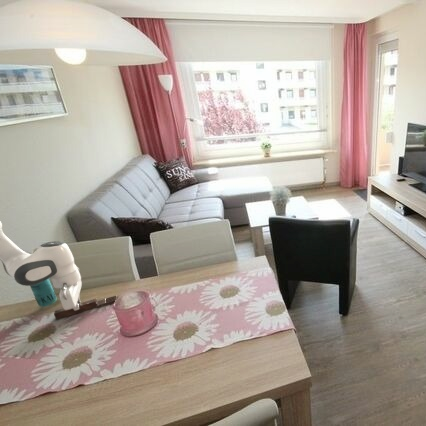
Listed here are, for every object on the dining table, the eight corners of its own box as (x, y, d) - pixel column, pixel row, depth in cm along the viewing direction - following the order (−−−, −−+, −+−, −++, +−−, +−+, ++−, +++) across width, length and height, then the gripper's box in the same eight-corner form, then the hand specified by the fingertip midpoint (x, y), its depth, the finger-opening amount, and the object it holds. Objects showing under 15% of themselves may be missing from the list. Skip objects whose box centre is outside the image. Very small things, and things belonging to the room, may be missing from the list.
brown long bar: (117, 297, 132) (115, 291, 131) (116, 301, 129) (115, 296, 128) (57, 315, 122) (55, 309, 121) (55, 320, 119) (53, 315, 118)
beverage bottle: (43, 303, 131) (26, 264, 124) (61, 299, 133) (45, 260, 127) (36, 311, 125) (18, 271, 119) (55, 307, 128) (38, 267, 121)
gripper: (72, 287, 112) (84, 317, 116) (79, 266, 128) (89, 292, 133) (51, 293, 109) (64, 323, 113) (61, 270, 125) (71, 297, 130)
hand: (77, 306), depth 123 cm, fingers closed on brown long bar, 2 cm apart
